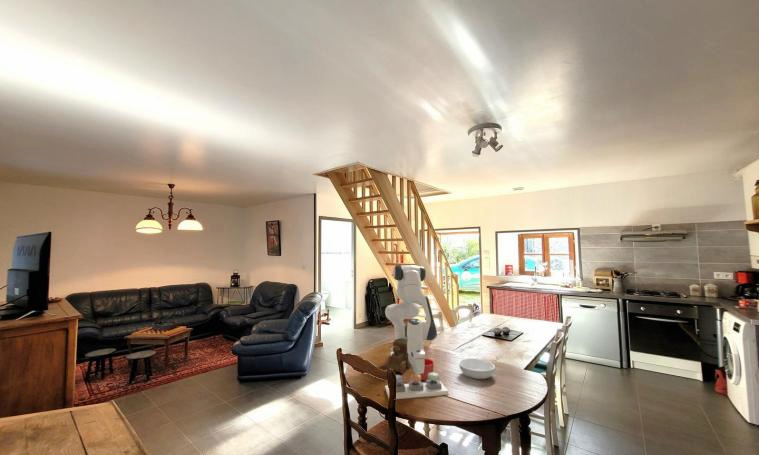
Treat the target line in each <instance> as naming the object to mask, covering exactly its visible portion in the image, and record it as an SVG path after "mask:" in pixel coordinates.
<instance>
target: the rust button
mask: <svg viewBox="0 0 759 455" xmlns="http://www.w3.org/2000/svg"><path fill="white" fill-rule="evenodd" d="M410 381H413V382H414V385H418V382H419V381H421V382H422V380H421V375H419V374H418V377H415V375H414V373H412V374H410Z"/></svg>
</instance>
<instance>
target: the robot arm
mask: <svg viewBox="0 0 759 455" xmlns="http://www.w3.org/2000/svg"><path fill="white" fill-rule="evenodd" d="M426 276H427V271H426V268H425V267H424V266H422V265H415V264H397V265H394V267H393V270H392V277H393V279H394V280H395V281H397V288H396V296H397V298H398V300H399V299H400V300H401V301H402V302H401V303H391V304H389V305H387V306H386V307H385V310H384V313H385V317H386V318H387V319H388V320H389V321H390V322H391V323H392V325H393V328H394V333H395V334H394V341H395V340H397V339H408V342H407V353H408V360H409V362H410V364H411V367H412V370H413V374H414V375H415V377H418V374H423V373H424V363H425V362H424V359H426V352H425V349H424V342H423V341H433V340H435V339H436V338H437V335H438V329H437V326H436V323H435V321H434V320H435V319H434V316H433V311H432V307H431V304H430V300H429V298H428V297H429V296H428V295H427V294H425V293H424V292H423V289H422V288H423V286H422V282H423V281H425V279H426ZM419 306H420V307H422V309H423V310H424V314H425V319H426V321H421V319H419V318H416V317H419V315H420V307H419ZM404 320H407V323H404ZM392 346H393V345H392ZM393 347H394V346H393ZM393 347H391V348H390V356H389V357H391V355H392V354H394V352H393V350H392V349H393Z"/></svg>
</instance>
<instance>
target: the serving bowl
mask: <svg viewBox="0 0 759 455" xmlns="http://www.w3.org/2000/svg"><path fill="white" fill-rule="evenodd" d="M458 365H459V366H458V367H459V369H460V371H461V373H463V375H465V376H467V377H469V378H472V379H477V380H482V379H484V380H485V379H488V378H490V377H492V376H493V375H494V373H495V369H496V366H495V364H493V363H492V362H491V361H488V360H485V359H480V358H464V359H461V360H460V361H459V362H458Z"/></svg>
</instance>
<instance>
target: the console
mask: <svg viewBox="0 0 759 455" xmlns="http://www.w3.org/2000/svg"><path fill="white" fill-rule="evenodd" d="M384 386H385V387H384V388H385V389H386V390H385V391H386V395H387V398H388V399H389V388H388V385H386V384H385V385H384ZM447 395H449V390H448V389H447V387H445V385H444V384H443V383H442V381H441V380H440V381H439V379H438V380H436V383H432V380H426V381H423V382H422V380H421V381H419V382H418V385H414V382H413V381H411V380H409V381H408V383H404V381H403V382H402V383H400V386H397V393H396V399H395V400H400V399H401V400H403V399H412V398H424V397H437V396H447Z"/></svg>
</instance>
